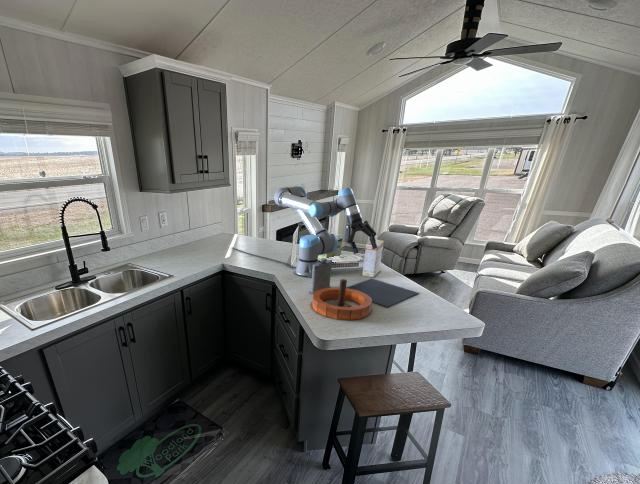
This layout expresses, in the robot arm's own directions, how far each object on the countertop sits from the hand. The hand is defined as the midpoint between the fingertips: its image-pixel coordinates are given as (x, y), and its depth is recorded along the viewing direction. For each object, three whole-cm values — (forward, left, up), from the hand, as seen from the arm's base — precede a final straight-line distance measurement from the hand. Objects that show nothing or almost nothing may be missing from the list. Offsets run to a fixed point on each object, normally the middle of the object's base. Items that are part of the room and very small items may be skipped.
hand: (365, 251), depth 181 cm
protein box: (-42, +19, -19) cm, 50 cm away
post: (+14, -35, -19) cm, 42 cm away
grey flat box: (-7, -26, -19) cm, 33 cm away
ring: (+14, -35, -19) cm, 42 cm away
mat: (+14, -4, -19) cm, 24 cm away
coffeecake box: (-7, +19, -19) cm, 28 cm away
